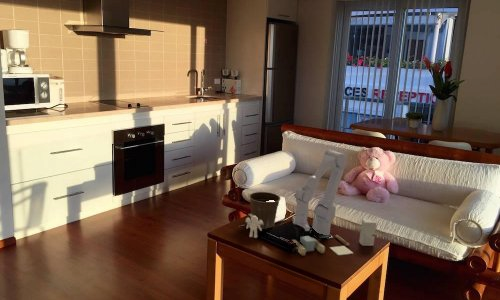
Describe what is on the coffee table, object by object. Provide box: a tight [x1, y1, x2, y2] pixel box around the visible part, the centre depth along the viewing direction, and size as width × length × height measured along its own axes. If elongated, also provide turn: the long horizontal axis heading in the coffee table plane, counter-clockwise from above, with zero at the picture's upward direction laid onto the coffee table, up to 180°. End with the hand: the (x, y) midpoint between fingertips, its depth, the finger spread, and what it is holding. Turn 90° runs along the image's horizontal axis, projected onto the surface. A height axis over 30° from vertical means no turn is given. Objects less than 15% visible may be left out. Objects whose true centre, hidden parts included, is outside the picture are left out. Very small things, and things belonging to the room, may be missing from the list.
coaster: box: [329, 245, 354, 256], centre depth 210 cm, size 8×8×1 cm
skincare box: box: [358, 219, 377, 247], centre depth 219 cm, size 6×4×12 cm
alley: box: [291, 236, 326, 256], centre depth 210 cm, size 11×12×3 cm
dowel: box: [334, 234, 350, 247], centre depth 220 cm, size 12×2×2 cm, turn 21°
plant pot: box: [248, 191, 281, 230], centre depth 233 cm, size 16×16×16 cm
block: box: [299, 235, 315, 253], centre depth 210 cm, size 6×4×5 cm
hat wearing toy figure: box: [245, 213, 263, 239], centre depth 219 cm, size 9×4×12 cm, turn 74°
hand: (299, 239), depth 218 cm, fingers closed
